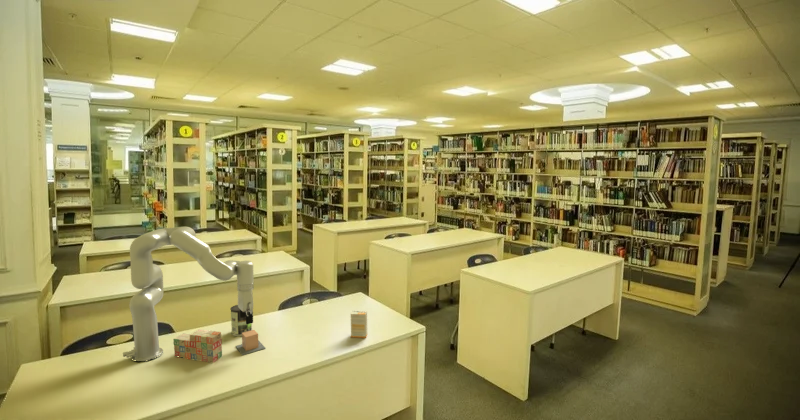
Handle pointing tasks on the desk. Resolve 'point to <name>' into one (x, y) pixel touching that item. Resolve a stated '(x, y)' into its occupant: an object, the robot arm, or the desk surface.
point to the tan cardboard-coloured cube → (250, 340)
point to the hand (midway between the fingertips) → (246, 320)
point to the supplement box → (359, 324)
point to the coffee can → (238, 322)
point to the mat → (251, 349)
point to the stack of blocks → (199, 345)
